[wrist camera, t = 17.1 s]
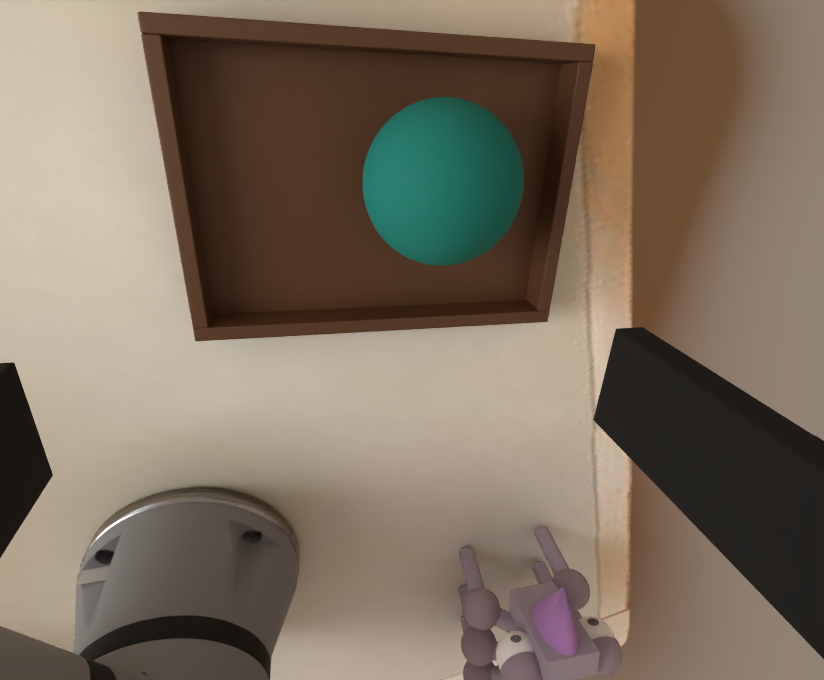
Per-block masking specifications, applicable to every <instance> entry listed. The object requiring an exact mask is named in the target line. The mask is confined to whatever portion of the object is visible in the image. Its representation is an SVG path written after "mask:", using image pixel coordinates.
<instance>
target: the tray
mask: <svg viewBox="0 0 824 680" xmlns="http://www.w3.org/2000/svg"><path fill="white" fill-rule="evenodd" d="M138 19H139V25H140V30H141V33H143V34H142V35H141V36H142V42H143V48H144V53H145V59H146V65H147V70H148V76H149V82H150V87H151V93H152V98H153V104H154V110H155V115H156V121H157V127H158V132H159V138H160V144H161V149H162V155H163V161H164V166H165V172H166V177H167V183H168V189H169V194H170V200H171V206H172V211H173V217H174V223H175V228H176V234H177V239H178V245H179V251H180V256H181V262H182V268H183V273H184V279H185V285H186V290H187V296H188V302H189V307H190V313H191V318H192V324H193V328H194V329H193V330H194V336H195V341H209V340H227V339H245V338H263V337H281V336H299V335H317V334H335V333H353V332H371V331H389V330H407V329H425V328H443V327H461V326H479V325H497V324H515V323H533V322H547V321H548V315H549V310H550V304H551V298H552V292H553V287H554V281H555V275H556V270H557V264H558V258H559V253H560V247H561V241H562V236H563V230H564V224H565V218H566V213H567V207H568V201H569V196H570V190H571V184H572V179H573V173H574V167H575V162H576V156H577V150H578V144H579V139H580V133H581V127H582V122H583V116H584V110H585V105H586V99H587V93H588V88H589V82H590V76H591V70H592V65H593V63H592V61H593V58H594V52H595V45H594V44H582V43H568V42H554V41H540V40H526V39H512V38H499V37H485V36H471V35H457V34H443V33H429V32H415V31H402V30H388V29H374V28H360V27H346V26H332V25H319V24H305V23H291V22H277V21H263V20H249V19H235V18H222V17H208V16H194V15H180V14H166V13H152V12H138ZM434 97H455V98H461V99H465V100H468V101H471V102H474V103H476V104H478V105H480V106H482V107H483V108H485V109H487V110H489V111H490V112H491V113H492V114H494V115H495V116H496V117H497V118H498V119H499V120H500V121H501V122H502V123H503V124H504V125H505V127H506V128H507V129H508V131H509V132H510V133H511V135H512V137H513V139H514V141H515V143H516V145H517V147H518V150H519V153H520V156H521V160H522V165H523V173H524V187H523V194H522V199H521V203H520V207H519V210H518V212H517V215H516V217H515V219H514V221H513V223H512V225H511V226H510V228H509V229H508V231H507V232H506V233H505V235H504V236H503V237H502V238H501V239H500V241H499V242H497V243H496V244H495V245H494V246H493V247H492V248H491V249H490V250H488V251H487V252H485V253H484V254H482V255H480V256H478V257H476V258H474V259H472V260H470V261H467V262H464V263H460V264H456V265H446V266H436V265H427V264H423V263H419V262H416V261H413V260H411V259H409V258H407V257H405V256H403V255H401V254H400V253H398V252H397V251H396V250H394V249H393V248H392V247H390V246H389V245H388V244H387V242H386V241H385V240H384V239H383V238H382V237H381V236H380V234H379V233H378V232H377V230H376V229H375V227H374V225H373V223H372V221H371V219H370V217H369V215H368V212H367V209H366V206H365V202H364V196H363V186H362V184H363V170H364V164H365V160H366V156H367V154H368V151H369V148H370V146H371V144H372V142H373V140H374V138H375V137H376V135H377V134H378V132H379V131H380V130H381V128H382V127H383V125H384V124H385V123H386V122H387V121H388V120H389V119H391V118H392V117H393V116H394V115H395V114H396V113H398V112H399V111H401V110H402V109H404V108H405V107H407V106H409V105H411V104H413V103H416V102H418V101H421V100H424V99H429V98H434Z"/></svg>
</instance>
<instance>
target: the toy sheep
mask: <svg viewBox="0 0 824 680" xmlns="http://www.w3.org/2000/svg"><path fill="white" fill-rule="evenodd" d="M535 537H536V539H537V541H538V543H539V545H540V547H541V549H542V551H543V553H544V555H545V557H546V559H547V561H548V563H549V565H550V567H551V569H552V571H553V573H554V575H555V576H554V578H553V579H552V577H551V574H550V572H549V570H548V568H547V566H546V564H545V562H544V561H540V562H537V563H535V564H534V565H533V566H532V570H533V572H534V574H535V577H536V579H537V581H538V583H539V585H534V586H528V587H523V588H518V589H512V590H510V604H509V611H510V612H508V611H506V610H504V609H502V608H500V605H499V601H498V599H497V597H496V596H495V595H494V593H492V592H491V591H490V590H488V589H486V588H484V585H483V582H482V578H481V574H480V571H479V567H478V564H477V560H476V557H475V553H474V550H473V549H472V548H470V547H464V548H462V549H461V550H460V552H459V555H460V559H461V563H462V568H463V572H464V576H465V580H466V584H467V585H463V586H461V587H460V588H459V594H460V599H461V603H462V610H463V615H464V616H463V617H462V618H461V623H462V628H463V636H462V640H461V648H462V652H463V654H464V656H465V658H466V659H467V660H468V661H467V662H466V664H465V666H464V670H463V677H464V680H574V679H579V678H584V677H588V676H593V675H594V676H598V677H607V676H610V675H612V674H614V673H615V672H616V671H617V670H618V668H619V667H620V664H621V659H622V653H621V648H620V645H619V643H618V641H617V640H616V639H615V636H614V634H613V632H612V630H611V628H610V627H609V626H608V625H607V624H606V623H605V622H604V621H602V620H601V619H599V618H596V617H592V616H587V617H583V618H582V617H581V615H580V613H579V612H578V611H577V610H578V609H581V608H583V607H584V606H585V605H586V604H587V602H588V600H589V597H590V588H589V584H588V582H587V580H586V579H585V577H584V576H583V575H582V574H581V573H579V572H578V571H576V570H573V569H569V567H568V565H567V563H566V561H565V559H564V558H563V556H562V554H561V552H560V550H559V548H558V546H557V544H556V543H555V541H554V539H553V537H552V535H551V533H550V531H549V529H548V528H547V527H543V528H540V529H538V530H537V531H536V532H535ZM494 625H495V626H497V627H499V628H501V629H503V630H505V631H507V632H508V633H506V634H505V635H503V636H502V638H501V639H500V640H499V642H497V641H496V639H495V636H494V634H493V633H492V631H491V630H490V628H492V627H493V626H494ZM492 660H497V664H498V666H494V664H493V662H492Z"/></svg>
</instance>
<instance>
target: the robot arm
mask: <svg viewBox="0 0 824 680" xmlns="http://www.w3.org/2000/svg"><path fill="white" fill-rule="evenodd" d="M594 421H595V422H596V423H597V424H598V425H599V426H600V427H601V428H602V429H603V430H604V431H605V432H606V433H607V435H608V436H609V437H610V438H611V439H612V440H613V441H614V442H615V443H616V444H617V445H618V446H619V447H620V448H621V449H622V450H623V451H624V452H625V453H626V454H627V455H628V456H629V457H630V458H631V459H632V460H633V461H634V462H635V464H636V465H637V466H638V467H639V468H640V469H641V470H642V471H643V472H644V473H645V474H646V475H647V476H648V477H649V478H650V479H651V480H652V481H653V482H654V483H655V484H656V485H657V486H658V487H659V488H660V489H661V491H662V492H663V493H664V494H665V495H666V496H667V497H668V498H669V499H670V500H671V501H672V502H673V503H674V504H675V505H676V506H677V507H678V508H679V509H680V510H681V511H682V512H683V513H684V514H685V515H686V516H687V517H688V519H689V520H690V521H691V522H692V523H693V524H694V525H695V526H696V527H697V528H698V529H699V530H700V531H701V532H702V533H703V534H704V535H705V536H706V537H707V538H708V539H709V540H710V541H711V542H712V543H713V544H714V546H716V548H717V549H719V551H720V552H721V553H722V554H723V555H724V556H725V557H726V558H727V559H728V560H729V561H730V562H731V563H732V564H733V565H734V566H735V567H736V568H737V569H738V570H739V571H740V573H741V574H742V575H743V576H744V577H745V578H746V579H747V580H748V581H749V582H750V583H751V584H752V585H753V586H754V587H755V588H756V589H757V590H758V591H759V592H760V593H761V594H762V595H763V596H764V597H765V598H766V600H767V601H768V602H769V603H770V604H771V605H772V606H773V607H774V608H775V609H776V610H777V611H778V612H779V613H780V614H781V615H782V616H783V617H784V618H785V619H786V620H787V621H788V622H789V623H790V624H791V625H792V627H793V628H794V629H795V630H796V631H797V632H798V633H799V634H800V635H801V636H802V637H803V638H804V639H805V640H806V641H807V642H808V643H809V644H810V645H811V646H812V647H813V648H814V649H815V650H816V651H817V652H818V653H819V655H821V657H822V658H823V659H824V441H823V440H821V439H820V438H818V437H817V436H814V435H812V434H811V433H809V432H807V431H806V430H804V429H803V428H801V427H800V426H798V425H796V424H795V423H793V422H792V421H790V420H788V419H787V418H785V417H784V416H782V415H780V414H779V413H777V412H776V411H774V410H773V409H771V408H769V407H767V406H766V405H765V404H763V403H761V402H760V401H758V400H757V399H755V398H754V397H752V396H750V395H749V394H747V393H746V392H744V391H743V390H741V389H739V388H738V387H736V386H735V385H733V384H731V383H730V382H728V381H727V380H725V379H723V378H722V377H720V376H719V375H717V374H716V373H714V372H712V371H711V370H709V369H708V368H706V367H705V366H703V365H701V364H700V363H698V362H697V361H695V360H693V359H692V358H690V357H689V356H687V355H686V354H684V353H682V352H681V351H679V350H678V349H676V348H674V347H673V346H671V345H670V344H668V343H667V342H665V341H663V340H661V339H660V338H659V337H657V336H655V335H654V334H652V333H651V332H649V331H648V330H646V329H644V328H643V327H642V328H622V329H616V331H615V335H614V339H613V343H612V347H611V351H610V355H609V359H608V364H607V368H606V372H605V376H604V380H603V384H602V388H601V392H600V396H599V400H598V404H597V408H596V412H595V416H594ZM52 476H53V474H52V471H51V468H50V465H49V462H48V460H47V457H46V454H45V451H44V448H43V445H42V442H41V439H40V436H39V433H38V431H37V428H36V425H35V422H34V419H33V416H32V413H31V410H30V407H29V404H28V402H27V399H26V396H25V393H24V390H23V387H22V384H21V381H20V378H19V375H18V373H17V370H16V367H15V364H14V363H0V557H1V556H2V554H3V553H4V551H5V549H6V548H7V546H8V545H9V543H10V542H11V540H12V538H13V537H14V535H15V534H16V532H17V531H18V529H19V527H20V526H21V524H22V523H23V521H24V520H25V518H26V516H27V515H28V513H29V512H30V510H31V509H32V507H33V505H34V504H35V502H36V501H37V499H38V498H39V496H40V494H41V493H42V491H43V490H44V488H45V487H46V485H47V483H48V482H49V480H50V479H51V477H52ZM298 573H299V548H298V542H297V539H296V536H295V534H294V532H293V530H292V528H291V527H290V525H289V524H288V523H287V521H286V520H285V519H284V518H283V517H282V516H281V515H280V514H279V513H278V512H276V511H275V510H274V509H272V508H271V507H269V506H268V505H266V504H265V503H263V502H261V501H259V500H257V499H254V498H252V497H249V496H247V495H243V494H240V493H237V492H232V491H227V490H221V489H212V488H187V489H178V490H171V491H166V492H162V493H158V494H154V495H151V496H148V497H145V498H143V499H140V500H138V501H136V502H133V503H131V504H129V505H127V506H126V507H124V508H122V509H121V510H119V511H118V512H116V513H115V514H114V515H112V516H111V517H110V518H109V519H108V520H107V521H106V522H104V524H103V525H102V526H101V527H100V528H99V529H98V531H97V532H96V534H95V535H94V537H93V539H92V541H91V542H90V545H89V547H88V549H87V551H86V553H85V555H84V557H83V560H82V563H81V566H80V571H79V575H78V579H77V584H76V585H77V588H76V614H75V640H74V653H72V652H69V651H66V650H64V649H61V648H58V647H55V646H53V645H50V644H47V643H45V642H42V641H39V640H36V639H34V638H31V637H28V636H26V635H23V634H20V633H17V632H15V631H12V630H9V629H7V628H4V627H1V626H0V680H270V668H271V656H272V653H273V650H274V647H275V645H276V642H277V639H278V636H279V634H280V631H281V628H282V625H283V623H284V620H285V617H286V614H287V612H288V609H289V606H290V603H291V601H292V598H293V595H294V592H295V589H296V584H297V579H298Z"/></svg>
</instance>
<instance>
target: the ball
mask: <svg viewBox="0 0 824 680" xmlns="http://www.w3.org/2000/svg"><path fill="white" fill-rule="evenodd" d="M362 186H363V196H364V202H365V206H366V209H367V212H368V215H369V217H370V219H371V221H372V223H373V225H374V227H375V229H376V230H377V232H378V233H379V234H380V236H381V237H382V238H383V239H384V240H385V241H386V242H387V244H388V245H389V246H390V247H392V248H393V249H394V250H396V251H397V252H398V253H400V254H401V255H403V256H405V257H407V258H409V259H411V260H413V261H416V262H419V263H423V264H427V265H436V266H446V265H456V264H460V263H464V262H467V261H470V260H472V259H474V258H476V257H478V256H480V255H482V254H484V253H485V252H487V251H488V250H490V249H491V248H492V247H493V246H494V245H495V244H496V243H497V242H499V241H500V239H501V238H502V237H503V236H504V235H505V233H506V232H507V231H508V229H509V228H510V226H511V225H512V223H513V221H514V219H515V217H516V215H517V212H518V210H519V207H520V203H521V199H522V194H523V187H524V173H523V165H522V160H521V156H520V153H519V150H518V147H517V145H516V143H515V141H514V139H513V137H512V135H511V133H510V132H509V131H508V129H507V128H506V127H505V125H504V124H503V123H502V122H501V121H500V120H499V119H498V118H497V117H496V116H495V115H494V114H492V113H491V112H490V111H489V110H487V109H485V108H483V107H482V106H480V105H478V104H476V103H474V102H471V101H468V100H465V99H461V98H455V97H434V98H429V99H424V100H421V101H418V102H416V103H413V104H411V105H409V106H407V107H405V108H404V109H402V110H401V111H399V112H398V113H396V114H395V115H394V116H393V117H392V118H391V119H389V120H388V121H387V122H386V123H385V124H384V125H383V127H382V128H381V130H380V131H379V132H378V134H377V135H376V137H375V138H374V140H373V142H372V144H371V146H370V148H369V151H368V154H367V156H366V160H365V164H364V170H363V184H362Z"/></svg>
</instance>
